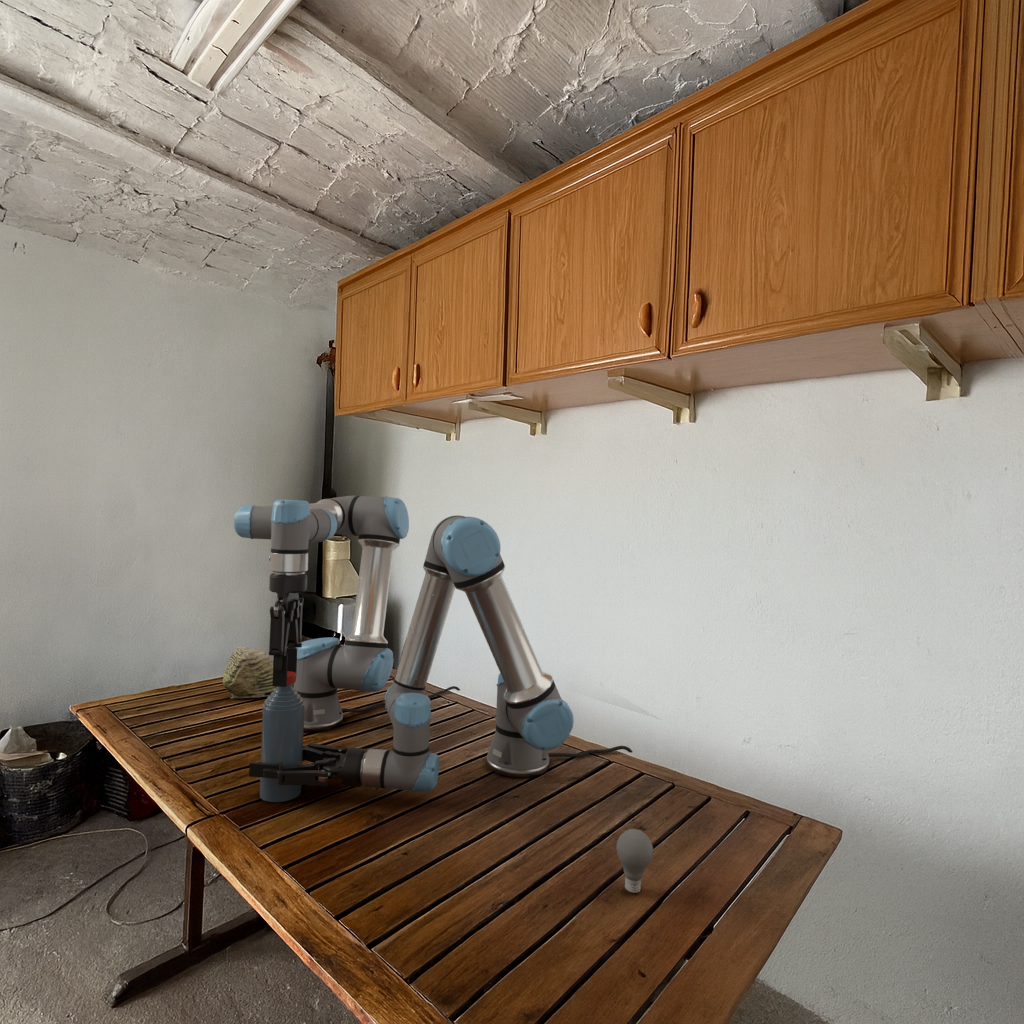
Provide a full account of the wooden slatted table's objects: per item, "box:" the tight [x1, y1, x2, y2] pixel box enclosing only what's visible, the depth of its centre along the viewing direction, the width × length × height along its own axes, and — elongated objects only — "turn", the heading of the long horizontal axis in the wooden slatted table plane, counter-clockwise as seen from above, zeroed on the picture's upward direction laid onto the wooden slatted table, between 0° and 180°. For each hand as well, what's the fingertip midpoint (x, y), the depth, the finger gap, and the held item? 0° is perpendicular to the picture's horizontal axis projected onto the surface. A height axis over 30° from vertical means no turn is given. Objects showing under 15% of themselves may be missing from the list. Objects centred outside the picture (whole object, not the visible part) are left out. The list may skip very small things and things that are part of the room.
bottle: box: [259, 683, 305, 803], centre depth 134 cm, size 8×8×25 cm
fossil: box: [222, 646, 276, 699], centre depth 198 cm, size 9×18×15 cm, turn 132°
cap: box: [287, 671, 296, 685], centre depth 134 cm, size 4×4×2 cm
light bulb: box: [615, 828, 654, 894], centre depth 106 cm, size 6×6×10 cm
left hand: (284, 681), depth 134 cm, fingers open, 5 cm apart
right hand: (260, 760), depth 135 cm, fingers closed on bottle, 8 cm apart
